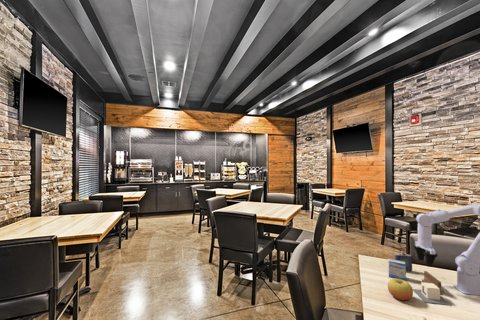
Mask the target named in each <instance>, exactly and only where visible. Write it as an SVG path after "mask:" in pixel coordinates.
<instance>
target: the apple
mask: <svg viewBox="0 0 480 320" xmlns="http://www.w3.org/2000/svg"><path fill="white" fill-rule="evenodd" d="M387 289H388V290H387V291H388V292H389V294H390V295H391V296H392V297H393V298H395V299H396V300H400V301H409V300H411V299H412V298H413V296H414V295H413V294H414V291H413V289H414V288H413V287H412V285H411V284H410V283H409V282H407V281H406V280H402V279H397V278H392V279H390V280H389V281H388V282H387Z"/></svg>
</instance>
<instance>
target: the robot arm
mask: <svg viewBox="0 0 480 320" xmlns="http://www.w3.org/2000/svg"><path fill="white" fill-rule="evenodd" d="M465 215H474V216H479V217H480V202H477V203H470V204H468V205H465V206H464V205H463V206H461V207H457V208H456V207H455V208H452V209H449V210H445V209H440V208H437V209H436V210H434V211H430V212H428V211H426V212H425V213H418V215H416V217H415V220H416V222H417V240H415V242H414V243H415V245H413V246H412V247H413V249H414V250H415V253H416V256H417V259H418V261H423V262H424V260H425V264H426V266H427V267H429V268H430V267H431V268H432V267H433V265H434V263H435V260H436V258H437V257H439V256H438V254H437V253H436V249H434V247H433V243H432V242H433V241H432V239H433V238H432V225H433V224H434V225H435V224H438V223H442V222H447V221H450V219H451V218H453V217H454V218H455V217H460V216H465ZM454 262H455V265H456V266H457V269H456V276H457V277H456V281H457V283H456V284H452V286H453V287H454V288H455V289H457V290H458V291H460V292H461V293H462V294H464V295H472V296H480V231H479V232H478V234H477V235H476V237H475V239H474V240H473V241H472V243H471V244H470V245H469V247H468V249H467V250H465V251H463V252H462V253H461V254H460V255H458V256H456V257H455V260H454Z"/></svg>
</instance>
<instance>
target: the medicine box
mask: <svg viewBox="0 0 480 320" xmlns="http://www.w3.org/2000/svg"><path fill="white" fill-rule="evenodd" d="M387 260H388V262H387V264H388V267H387V268H388V269H387V270H388V274H387V275H388V277H389V278H392V277H393V278H392V279H401V280H404V281H406V280H407V279H406V278H407V277H406V276H407V275H406V273H407V271H406V264H405V262H403V261H398V260H394V259H391V258H388V259H387Z"/></svg>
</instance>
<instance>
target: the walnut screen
mask: <svg viewBox="0 0 480 320" xmlns="http://www.w3.org/2000/svg"><path fill="white" fill-rule="evenodd" d="M421 282H424V283H433V284H435V285H436V286H437V287H438V288H439V289H440V295H441V296H445V292H443V291H442V282H441V281H440V280H438V279H437V278H436V277H435V276H434V275H433V274H431V273H429V272H428V271H426V270H423V278H422V279H421Z"/></svg>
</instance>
